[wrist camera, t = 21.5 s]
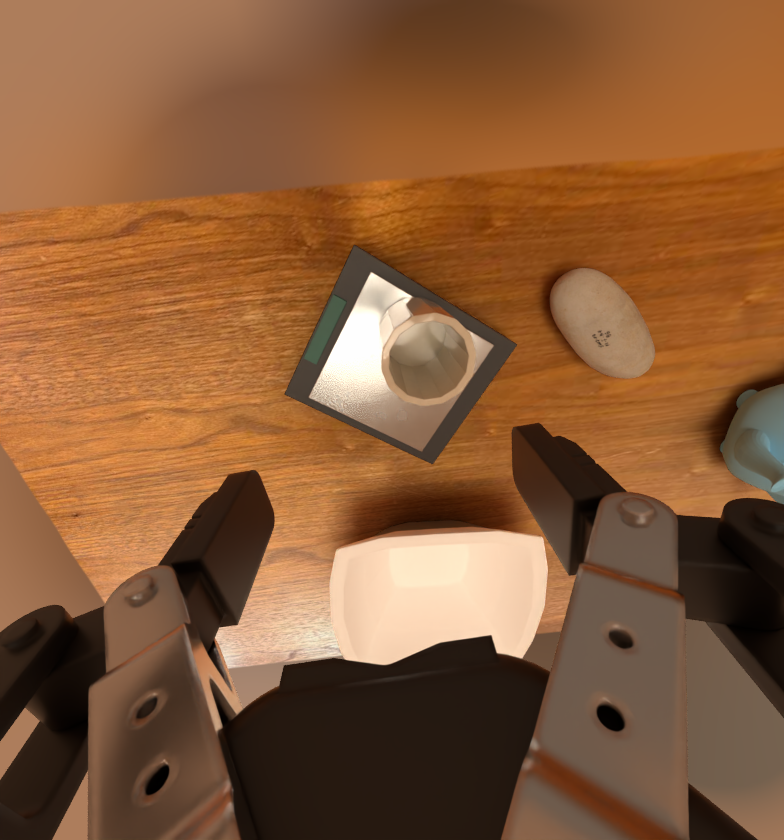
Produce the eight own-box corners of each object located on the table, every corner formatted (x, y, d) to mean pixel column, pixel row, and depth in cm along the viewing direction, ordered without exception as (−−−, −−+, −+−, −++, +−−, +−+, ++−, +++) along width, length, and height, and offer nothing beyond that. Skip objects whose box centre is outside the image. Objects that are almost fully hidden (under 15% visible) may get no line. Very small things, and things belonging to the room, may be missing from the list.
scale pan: (309, 395, 32) (307, 397, 32) (370, 270, 28) (370, 271, 28) (421, 448, 35) (421, 452, 35) (492, 343, 31) (494, 345, 30)
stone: (619, 398, 34) (549, 342, 28) (591, 355, 38) (524, 297, 32) (685, 359, 31) (621, 286, 25) (646, 316, 35) (583, 244, 29)
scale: (291, 383, 35) (283, 395, 32) (356, 245, 30) (353, 244, 27) (428, 449, 39) (433, 465, 36) (506, 337, 34) (518, 345, 31)
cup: (364, 348, 30) (364, 380, 23) (402, 281, 28) (414, 293, 21) (424, 381, 32) (441, 420, 24) (463, 320, 29) (495, 343, 22)
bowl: (508, 606, 50) (531, 669, 43) (346, 616, 50) (341, 682, 42) (527, 476, 41) (562, 527, 33) (328, 487, 40) (317, 542, 33)
